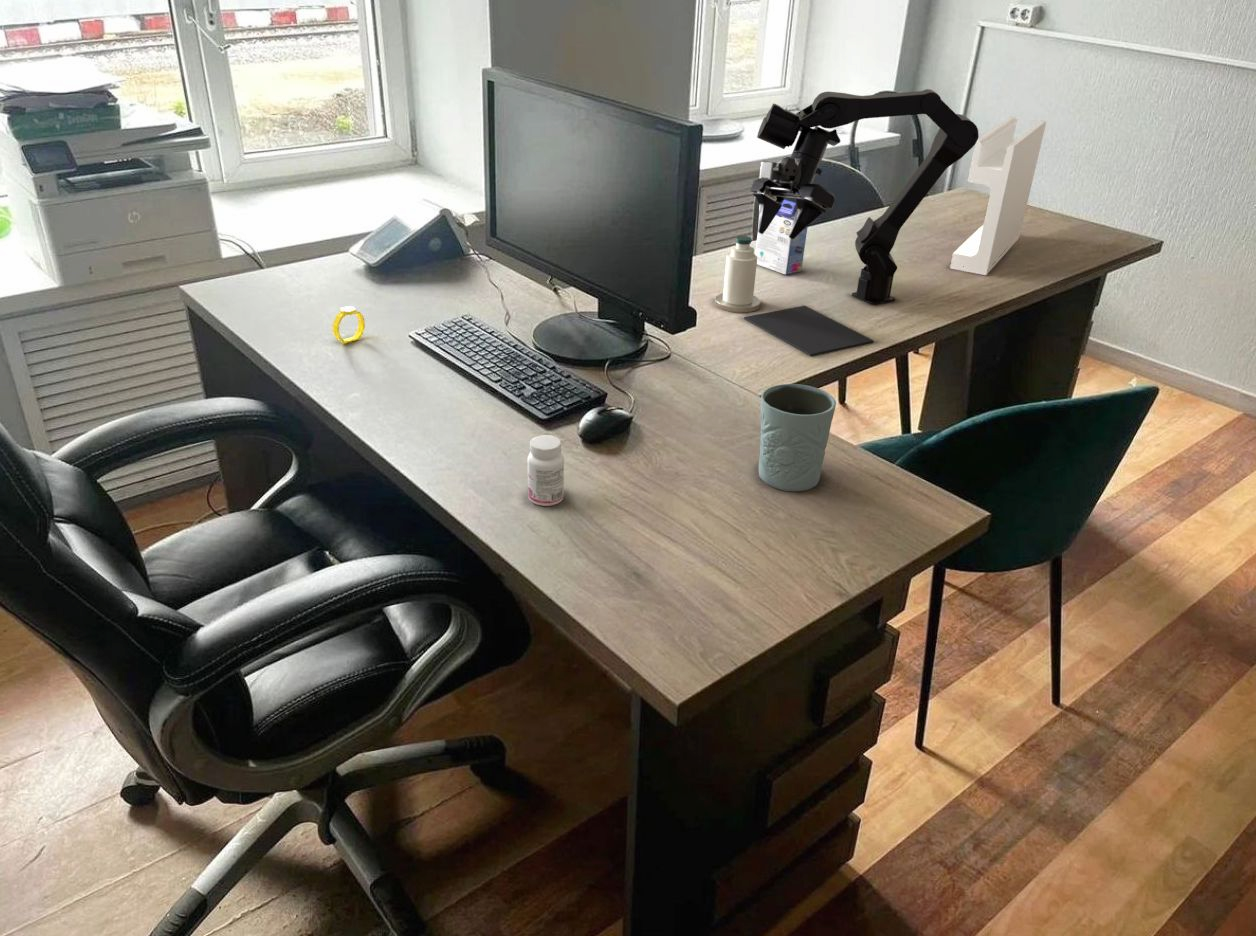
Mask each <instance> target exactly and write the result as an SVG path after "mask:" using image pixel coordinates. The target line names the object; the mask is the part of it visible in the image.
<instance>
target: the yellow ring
mask: <svg viewBox="0 0 1256 936" xmlns="http://www.w3.org/2000/svg"><path fill="white" fill-rule="evenodd" d="M353 315H356V317H357V318H358V326H357V329H356V332H355V333H354V335H353V336H350V337H347V338H342V336H341V334H340V325H341V323H342V320H343V319H344V317H346V316H353ZM365 328H366V321H365V318H364V315H363V314H362V313H361V312H360V311H358V310H357V308H356V307H355V306H351V305H350V306H348V305H347V306H342V307H340V308H339V313H338V314H337V315H336V316H335V317H334V320H333V323H332V333H333V335H334V338H335V339H336V340H337V341H339V342H340V343H343V344H348V343H353V342H355V341H359V340H360V339H361V338H362V336H363V334H364V331H365Z"/></svg>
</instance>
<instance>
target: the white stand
mask: <svg viewBox="0 0 1256 936" xmlns="http://www.w3.org/2000/svg"><path fill="white" fill-rule="evenodd" d="M1017 122H1018V119H1016V116H1010V117H1009V118H1007V119H1005V120H1003V122H1001V123H1000V124H998V125H997V126H995V127H994V128H992V129H990V130H988V132H986V133H984V134H983V135H981V136H979V137H978V140H977V142H976V144H975V145H974V147H975V148H973V152H972V157H971V162H970V166H969V171H968V174H969V175H968V177H967V183H970V184H977V185H983V186H986V187H987V188H988V189H989V198H988V202H987V208H986V212H985V215H984V216H985V217H984V222H983V224H982V225H981V226H980V227H979V228H977V230H975V231H974V232H973V234H972V235H970V236H969V237H968V238H967V239H966V240H965V241H964V242H963V243H962V244H961V245H960V246H959V247H957V249H955V251H954V252H952V255H951V257H952V258H951V260H950V263H951V264H950V265H949V269H952V270H956V271H961V272H967V273H972V274H977V275H983V276H987V275H988V274H989V272H991V271H992V269H993V268H995V266H996V265H997V264H998V262H1000V261H1001V259H1002V258H1003V257H1004V256H1005V255H1006V254H1007V252H1008V251H1009V250H1010V249H1011V248H1012V247H1013V246H1014V245H1015V244H1016V243H1017V241H1018V240H1020V236H1021V233H1022V232H1021V231H1022V229H1023V223H1024V219H1025V215H1026V211H1027V206H1028V202H1029V198H1030V194H1031V189H1032V184H1033V181H1034V176H1035V172H1036V169H1037V164H1038V159H1039V155H1040V151H1041V147H1042V142H1043V138H1044V135H1045V133H1044V132H1045V130H1046V125H1047V120H1041V121H1040V122H1038V123H1037V124H1036V125H1034V126H1033V127H1031V128H1030V129H1029V130H1027V131H1026V132H1025V133H1023V134H1022V135H1021V136H1020V137H1019V138H1017V139H1016V140H1014V137H1015V133H1016V132H1015V131H1016V127H1017V125H1016V124H1017ZM1019 233H1020V235H1019V236H1018V234H1019ZM1017 236H1018V237H1017ZM1016 237H1017V238H1016ZM1015 238H1016V239H1015ZM1014 239H1015V240H1014ZM1013 240H1014V242H1013V243H1012V241H1013ZM1011 243H1012V244H1011ZM1010 244H1011V245H1010ZM1009 245H1010V246H1009ZM1008 246H1009V247H1008ZM1007 247H1008V248H1007ZM1006 248H1007V249H1006ZM1005 249H1006V250H1005ZM1004 250H1005V252H1004ZM1003 252H1004V253H1003ZM1002 253H1003V254H1002ZM1001 254H1002V255H1001ZM1000 255H1001V256H1000ZM999 256H1000V257H999ZM995 261H996V262H995ZM994 262H995V263H994ZM993 263H994V264H993ZM992 264H993V265H992ZM963 266H964V267H963Z"/></svg>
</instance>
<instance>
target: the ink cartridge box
mask: <svg viewBox="0 0 1256 936" xmlns="http://www.w3.org/2000/svg"><path fill="white" fill-rule="evenodd" d="M780 204H781V205H782V207H781V208H780V210H779V211H778V213H777V214H776V216H775V217H774V219H773V220H772V222H771V223H770V225H769V226H768V228H767V229H766V231H765V232H764V233H763V234H761V233H759V232H758V231H757V237H756V245H755V250H754V252H755V253H754V254H755V255H756V256H757V266H761V267H763V268H765V269H768V270H771V271H773V272H776V273H779V274H783V275H790V274H795V273H801V272H803V271H802V270H803V264H804V263H803V262H804V256H805V248H806V239H807V233H808V226H809V225H808V226H807V227H806V228H805V229H804V230H803V231H802V232H800V233H799V234H798V235H797V236H796V237H795V238H794V239H791V238H789V233H790V229H791V226H792V224H793V221H794V218H795V215H796V212H794V211H795V210H796V209H795V208H796V207H797V202H794V201H791V200H788V199H785V198H784V200H783V201H782V202H781V203H780ZM785 205H790V207H791V208H789V207H786V206H785Z"/></svg>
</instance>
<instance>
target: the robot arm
mask: <svg viewBox="0 0 1256 936" xmlns="http://www.w3.org/2000/svg"><path fill="white" fill-rule="evenodd" d="M914 115H915V116H916V115H917V116H918V115H926V116H927V117H928V118H929V119H930V120H931V121H932V122H933V123H934V124H935V125H936V126H937V127H938V128H939V129H938V131H937V132H936V135H935V136H934V138H933V141H932V144H931V147H930V149H929V152H928V154H927V156H926V157H925V158H924V159H923V161H922V162H921V164H920V165H919V166H918V168H917V169H916V170H915V172H914V173H913V174H912V175H911V177H910V178H909V179H908V181H907V182H906V183H905V185H904V186H903V188H902V189H901V190H900V191H899V193H898V194H897V195H896V197H895V198H894V200H893V201H892V202H891V203H890V205H889V206H888V207H887V209H886V210H885V211H884V213H883V214H881V216H880V217H877V218H876V219H875V220H874V219H872V218H871V217H867V219H866V221H865V222H864V224H863V226H862V227H861V228H860V229H859V230H858V231H856V235H857V237H856V239H855V241H854V247H855V251H856V252H857V255H858V257H859V259H860V261H861V262H862V263H863V264H864V267H863V268H861V269H860V274H859V275H860V276H859V277H858V281H857V287H856V291H855V292H854V291H853V292H851V296H852V297H854V298H856V299H858V300H860V301H863V302H865V303H867V304H869V305H872V306H874V305H881V304H886V303H889V302H895V301H896V297H894V296H892V295H891V294H892V287H893V282H894V277H895V276H894V275H895V274H896V271H897V270H898V266H897V264H896V262H895V260H894V258H893V256H892V255H891V251H892V250H893V248H894V246H895V243H896V241H897V238H898V235H899V232H900V230H901V228H902V227H903V226H904V224H905V223H906V222H907V220H908V219H909V218H910V217H911V215H912V214H913V213H914V212H915V210H916V209H917V207H918V206H919V205H920V204H921V202H922V201H923V200H924V199H925V198H926V196H927V194H928V193H929V192H930V191H931V189H932V188H933V187H934V186H935V184H936V183H937V182H938V180H939V179H940V178H941V176H942V175H943V174H944V172H945V171H946V170H947V169H948V168H949V167H951V166H952V165H953V164H955V163H956V162H958V161H959V160H961V159H962V158H963V157H965V155H966V154H967V153H968V152H969V151H971V150H972V149H973V147H975V144H976V142H977V140H978V138H980V136H979V128H978V126H977V125H976V123H975V122H973V121H972V120H971V119H970V118H969V117H967V116H966V115H964V114H961V113H960V114H959V113H955V112H954V110H953V109H951V108H950V106H948V104H946V103H945V101H943V99H942V98H941V96H940V94H938V93H937V92H936V91H935V90H933V89H929V88H926V89H923V90H918V91H906V92H895V93H893V92H892V93H884V94H883V93H881V94H869V95H858V94H851V93H845V92H837V91H823V92H820V93H819V94H818V95H817V96H816V97H815V98H814V99H813V101H812V103H811V104H809V105H807V106H806V107H804V108H803V109H800V110H799V111H798V112H796V113H794V112H792V111H790V110H788V109H785V108H783V106H780V105H779V104H777V103H772V104H771V107H770V109H769V110H768V112H767V113H766V115H765V116H764V117H763V119H762V121H761V124H760V126H759V129H758V132H757V136H756V138H757V139H759V140H761V141H764V142H766V143H769V144H770V145H773V146H775V147H778V148H780V149H783V150H785V149H786V148H787V147H788V148H790V147H792V146H793V145H794V143H795V142H796V143H795V145H794V148H793V150H792V153H791V155H790V156H785V157H783V158H782V159H781V161H780V162H774V161H773V162H771V161H760V166H759V174H758V175H759V177H758V178H757V179H755V180H754V181H753V182H752V185H751V186H750V192H752V194H753V197H755V198H756V200H757V202H758V226H757V227H758V228H757V233H758V232H759V233H761V234H763V233H764V232H765V231H766V229H767V228H768V226H769V225H770V223H771V222H772V220H773V219H774V217H775V216H776V214H777V213H778V211H779V210H780V208H781V207H782V205H781V204H782V202H783V201H784V199H785V198H786V199H795V200H796V203H797V204H796V207H797V208H796V212H795V213H796V215H795V218H794V221H793V224H792V226H791V229H790V233H789V238H791V239H794V238H795V237H796V236H797V235H798V234H799V233H800V232H802V231H803V230H804V229H805V228H806V227H807V226H809V225H810V224H811V223H813V222H814V221H815V220H816V219H818V218H819V217H820V216H822V214H826V213H827V210H831V211H832V210H833V208H834V204H835V202H836V197H835V194H834V193H833V192H832V191H830V190H829V189H827V188H825V187H824V186H822V185H820V184H818V183H813V182H814V180H815V177H816V176H821V175H822V172H823V169H821V168H819V167H820V166H821V165H820V164H821V162H822V160H823V158H824V155H825V153H826V150H827V148H828V145H830V146H831V147H835V146H837V145H839V144H841V138H840V137H839V135H838V132H837V129H836V128H838V127H843V126H846V125H847V126H848V125H849V124H852V123H854V122H857V121H860V120H864V119H879V118H889V117H901V116H902V117H903V116H904V117H905V116H914ZM834 128H835V129H834ZM827 129H833V130H831V131H829V130H827ZM799 132H800V133H799ZM807 228H808V227H807Z"/></svg>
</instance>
